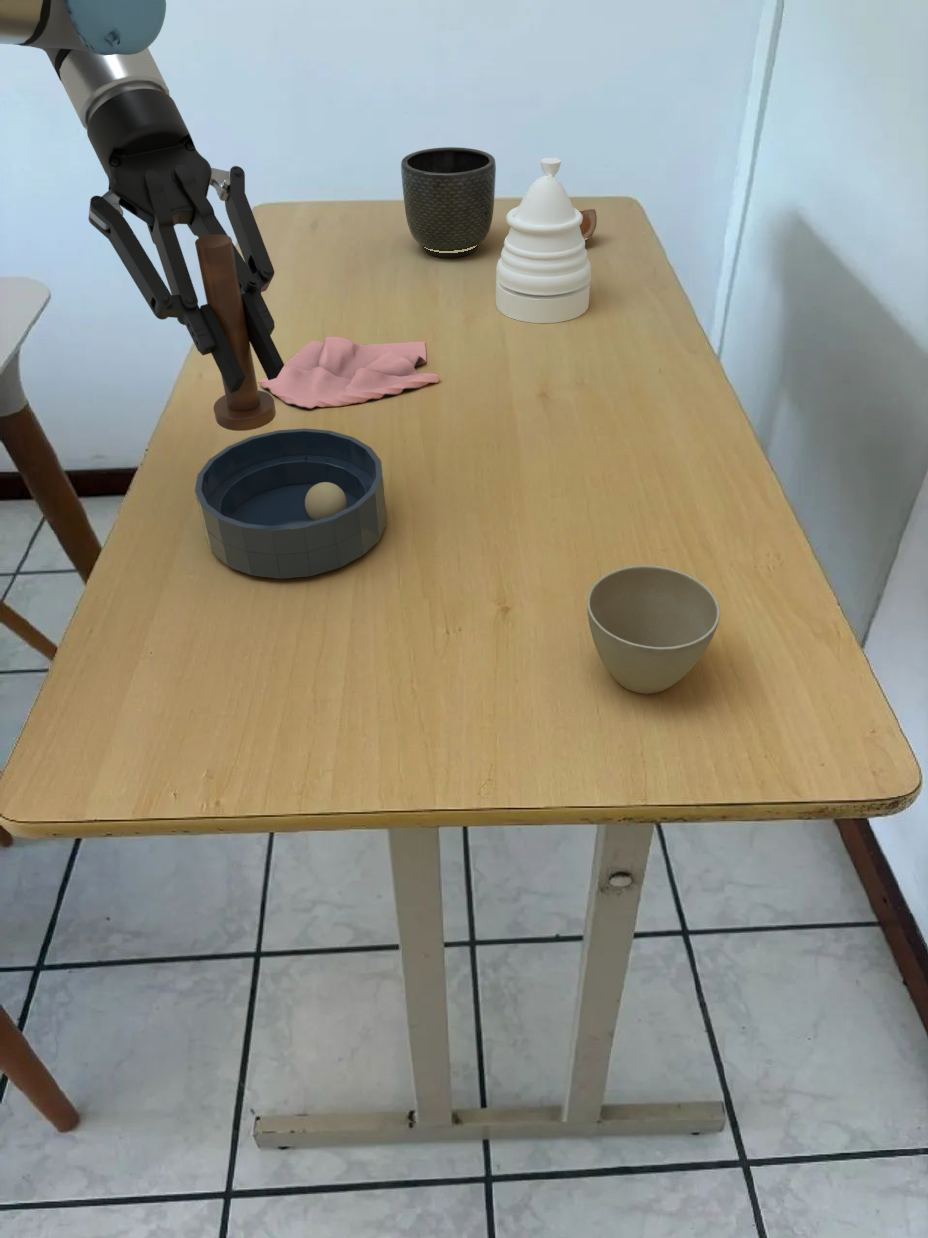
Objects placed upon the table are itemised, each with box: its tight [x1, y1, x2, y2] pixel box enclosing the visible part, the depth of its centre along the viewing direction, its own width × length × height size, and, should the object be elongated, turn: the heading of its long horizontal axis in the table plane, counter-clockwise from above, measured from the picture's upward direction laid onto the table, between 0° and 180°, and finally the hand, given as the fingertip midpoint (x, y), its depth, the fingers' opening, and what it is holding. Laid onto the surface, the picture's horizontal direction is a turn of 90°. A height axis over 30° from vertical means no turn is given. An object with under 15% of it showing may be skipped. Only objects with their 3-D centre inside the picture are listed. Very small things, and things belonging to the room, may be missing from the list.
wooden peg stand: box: [194, 234, 277, 432], centre depth 79 cm, size 5×5×15 cm
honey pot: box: [495, 157, 592, 324], centre depth 127 cm, size 13×13×18 cm
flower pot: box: [586, 564, 721, 695], centre depth 75 cm, size 10×10×7 cm
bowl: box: [194, 427, 388, 580], centre depth 91 cm, size 17×17×6 cm
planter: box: [400, 146, 497, 259], centre depth 144 cm, size 14×14×13 cm
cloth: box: [257, 336, 440, 410], centre depth 117 cm, size 20×22×2 cm
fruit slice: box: [579, 208, 598, 239], centre depth 148 cm, size 8×7×5 cm
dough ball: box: [305, 482, 347, 521], centre depth 92 cm, size 4×4×4 cm
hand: (257, 378), depth 78 cm, fingers closed on wooden peg stand, 3 cm apart
